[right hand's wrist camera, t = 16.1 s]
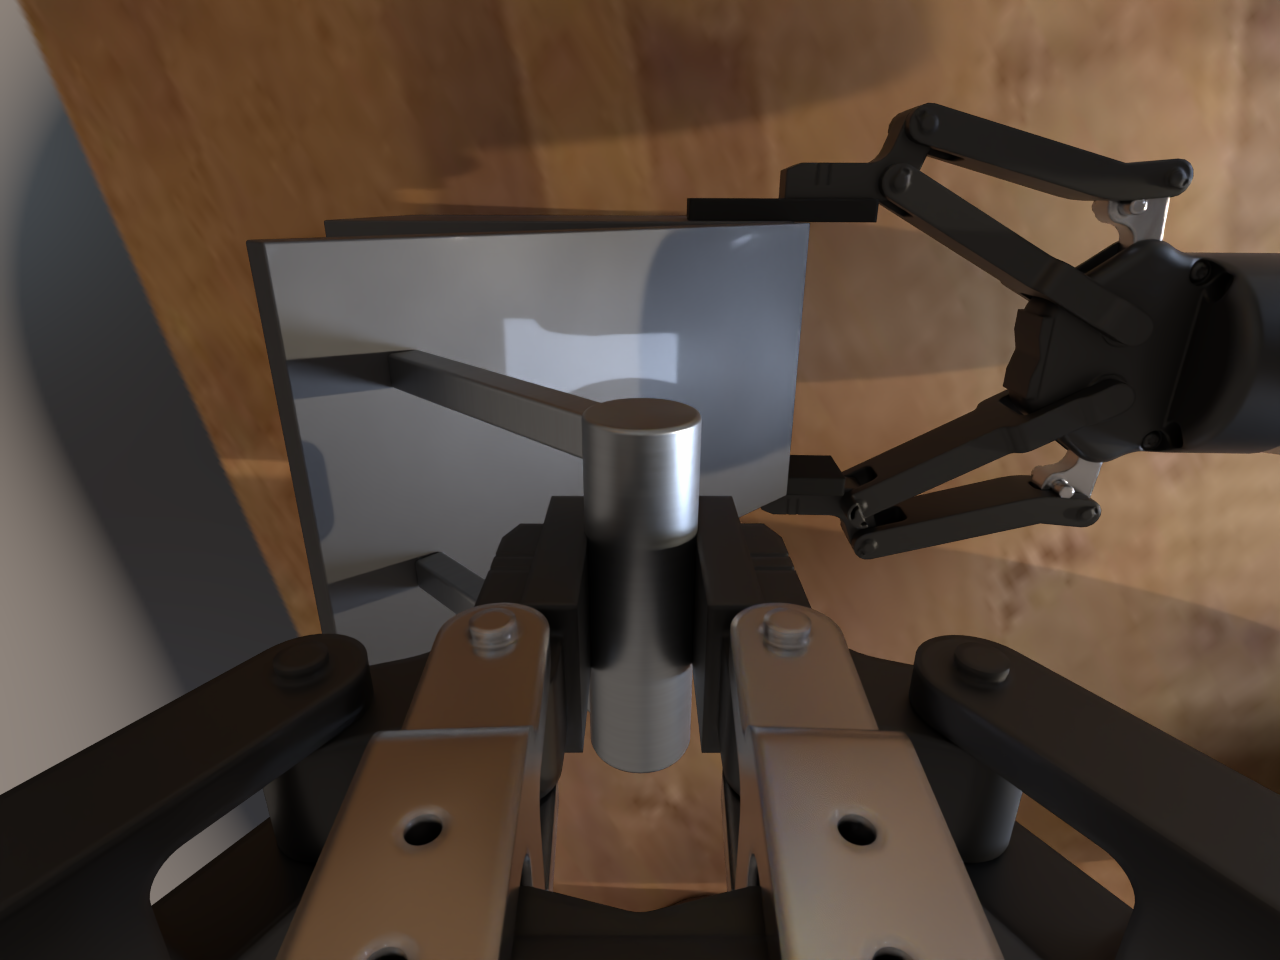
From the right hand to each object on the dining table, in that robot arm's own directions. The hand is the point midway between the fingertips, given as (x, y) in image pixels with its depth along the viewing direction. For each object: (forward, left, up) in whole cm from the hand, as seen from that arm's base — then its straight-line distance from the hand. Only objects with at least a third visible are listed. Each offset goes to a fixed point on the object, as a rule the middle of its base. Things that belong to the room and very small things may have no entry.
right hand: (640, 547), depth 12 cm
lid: (+1, +1, -8) cm, 8 cm away
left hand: (-1, -1, -17) cm, 17 cm away
